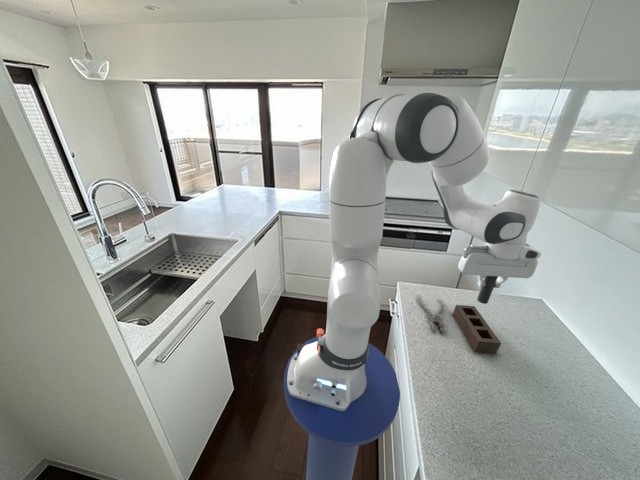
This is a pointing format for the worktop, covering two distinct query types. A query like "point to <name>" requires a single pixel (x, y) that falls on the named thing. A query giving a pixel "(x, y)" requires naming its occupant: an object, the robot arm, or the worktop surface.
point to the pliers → (434, 318)
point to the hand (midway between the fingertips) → (488, 286)
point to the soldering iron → (487, 289)
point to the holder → (476, 330)
